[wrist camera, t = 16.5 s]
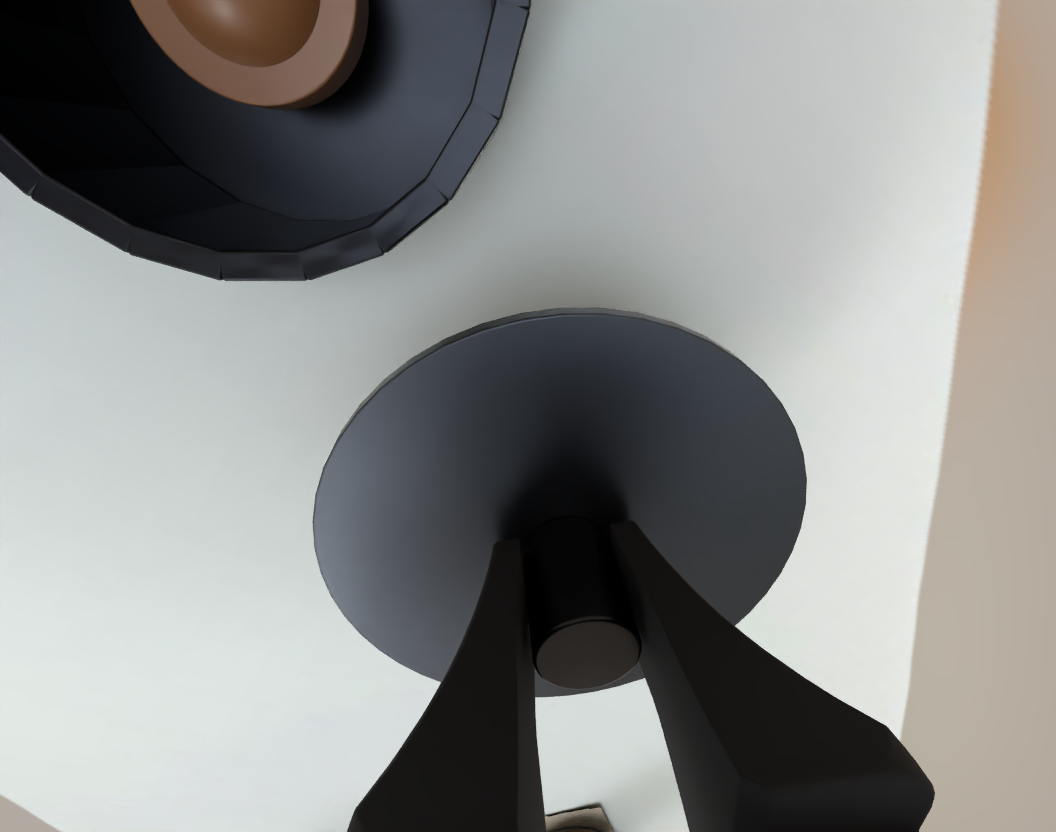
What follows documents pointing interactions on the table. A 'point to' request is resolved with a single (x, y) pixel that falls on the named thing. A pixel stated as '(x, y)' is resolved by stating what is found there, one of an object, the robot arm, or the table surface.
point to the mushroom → (261, 45)
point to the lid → (556, 487)
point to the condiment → (579, 821)
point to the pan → (250, 136)
